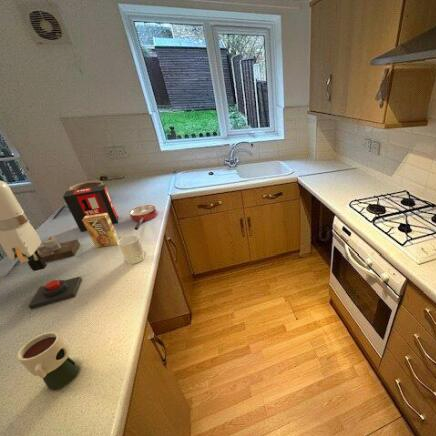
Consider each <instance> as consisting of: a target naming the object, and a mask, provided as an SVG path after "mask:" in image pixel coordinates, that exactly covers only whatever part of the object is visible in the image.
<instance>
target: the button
mask: <svg viewBox="0 0 436 436" xmlns="http://www.w3.org/2000/svg"><path fill="white" fill-rule="evenodd" d="M58 280H59V279H54V280H51V281H48V282H47V283H46V284H45V285H44V286H45V287H46V288H47V290H48V291H51V290H54V289H56V288H58V287H59V286H61V284H60V282H59V281H58Z"/></svg>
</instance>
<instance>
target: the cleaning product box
mask: <svg viewBox="0 0 436 436" xmlns="http://www.w3.org/2000/svg"><path fill="white" fill-rule="evenodd" d="M106 188H107V187H106V185H105V184H103V185H101V186H95V187H89V188H83V189H77V190H66V191H65V192H64V194H63V196H62V198H63V200H64V202H65V204H66V205H67V208H68V210H69V212H70V214H71V215H72V217H73V219H74V221H75V224H76V226H77V228H78V229H79V231H80V233H82V232H83V233H84V232H88V231H87V229H86V227H85V225H84V223H83V221H82V219H83V218H84V217H85V216H89V215H96V214H103V213H108V215H109V218H110V220H111V222H112V225H113V226H114V225H117V224H119V216H118V214H117V211H116V208H115V207H114V204H113V201H112V199H111V196H110V194H109V191H108V189H106ZM107 191H108V192H107Z"/></svg>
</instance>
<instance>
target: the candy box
mask: <svg viewBox="0 0 436 436" xmlns="http://www.w3.org/2000/svg"><path fill="white" fill-rule="evenodd" d="M82 221H83V223H84V225H85V227H86V229H87V231H86V232H87V233H88V235H89V237H90V239H91V241H92V243H93V245H94V247H95V248H96V249H97V248H103V247H108V246H114V245H118V244H117V242H118V240H120V238H119V236H118V234H117V231H116V229H115V227H114V224H113V225H112V222H111V220H110V218H109V215H108V213H103V214H96V215H89V216H85V217H84V218H83V219H82Z"/></svg>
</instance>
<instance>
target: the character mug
mask: <svg viewBox="0 0 436 436" xmlns="http://www.w3.org/2000/svg"><path fill="white" fill-rule="evenodd" d="M70 354H71V351H70V348H69V346H68V345H66V344H65V342H64V339H63V337H61V336H60V334H59V333H57V332H55V331H48V332H44V333H41V334H39V335H37V336H34V337H33V338H31V339H30V340H29V341H27V342H26V343H25V344H23V346H21V347H20V349H19V350H18V351H17V353H16V358H17V360H18V361H19V362H20V364H22V366H24V368H25V369H26V370H27V371H28V372H29V373H30V374H31V375H33V376H34V377H39V378H40V379H42V380H43V382H44V383H45V385H46V387H47V389H48V390H56V389H59V388H62V387H64V386H66V385H68V384H70V383H71V382H72V381H73V380H74V379H75V378H76V377H77V375H78V374H79V372H80V370H79V369H78V368H80V365H78V364H77V362H76V361H74V360H73V359H72V358H71V357H70ZM77 367H78V368H77Z"/></svg>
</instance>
